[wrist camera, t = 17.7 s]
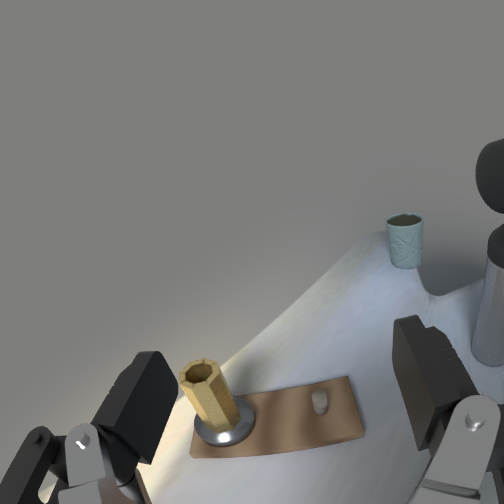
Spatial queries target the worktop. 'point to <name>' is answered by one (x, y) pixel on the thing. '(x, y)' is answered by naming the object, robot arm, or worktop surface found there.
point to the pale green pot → (405, 239)
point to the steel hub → (232, 436)
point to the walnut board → (294, 421)
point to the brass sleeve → (210, 395)
